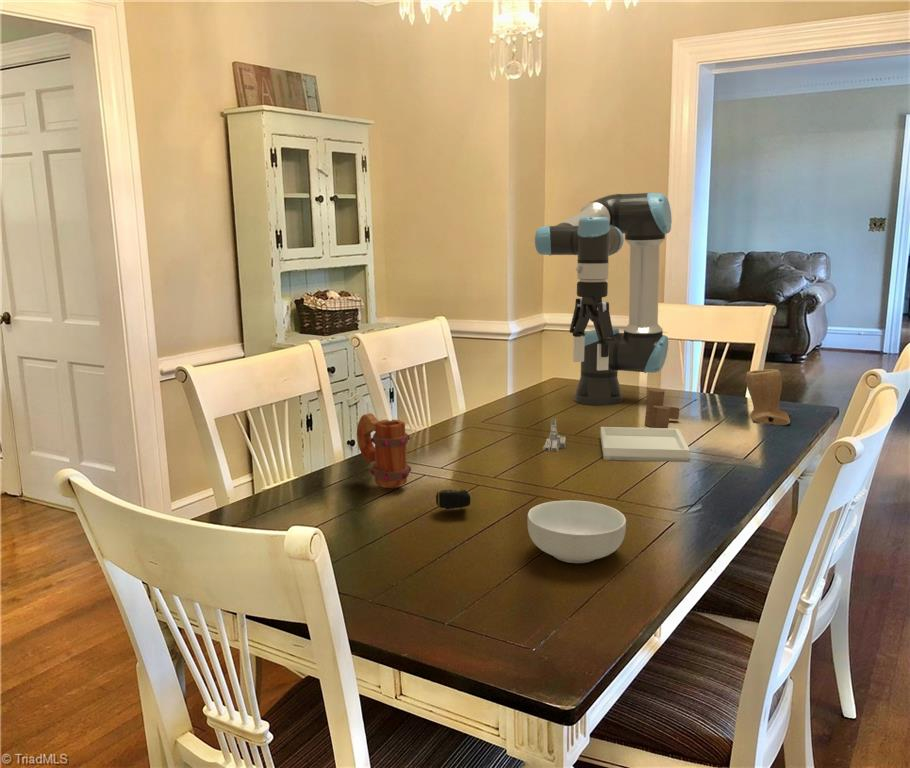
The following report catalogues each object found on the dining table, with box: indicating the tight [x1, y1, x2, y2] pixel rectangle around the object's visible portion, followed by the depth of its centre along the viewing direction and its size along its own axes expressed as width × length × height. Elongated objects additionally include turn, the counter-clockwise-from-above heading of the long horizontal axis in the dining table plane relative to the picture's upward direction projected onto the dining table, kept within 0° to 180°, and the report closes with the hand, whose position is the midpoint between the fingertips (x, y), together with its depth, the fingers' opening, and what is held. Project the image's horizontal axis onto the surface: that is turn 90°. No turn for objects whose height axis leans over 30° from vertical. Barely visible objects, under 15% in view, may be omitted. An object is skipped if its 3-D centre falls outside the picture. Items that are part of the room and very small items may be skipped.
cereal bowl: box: [526, 499, 627, 564], centre depth 135 cm, size 17×17×7 cm
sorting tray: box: [600, 426, 691, 462], centre depth 196 cm, size 20×20×3 cm
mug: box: [356, 412, 412, 489], centre depth 173 cm, size 15×8×15 cm, turn 47°
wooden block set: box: [644, 387, 680, 428], centre depth 215 cm, size 18×9×10 cm, turn 160°
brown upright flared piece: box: [745, 368, 791, 426], centre depth 221 cm, size 15×12×15 cm
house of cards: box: [542, 418, 567, 452], centre depth 198 cm, size 9×9×8 cm
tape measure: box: [435, 489, 472, 511], centre depth 156 cm, size 7×7×4 cm
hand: (590, 365), depth 197 cm, fingers open, 13 cm apart
